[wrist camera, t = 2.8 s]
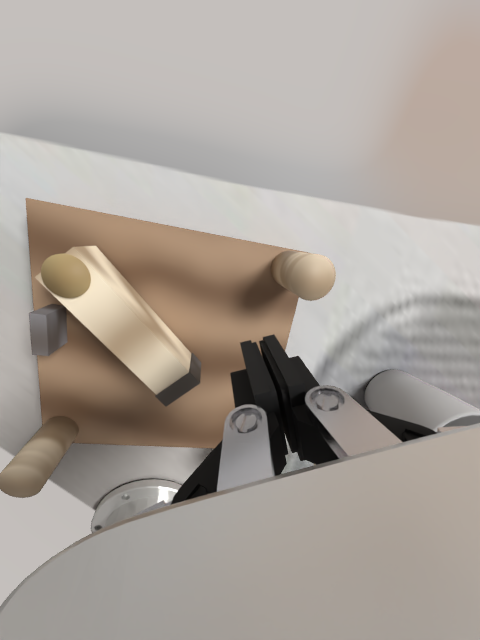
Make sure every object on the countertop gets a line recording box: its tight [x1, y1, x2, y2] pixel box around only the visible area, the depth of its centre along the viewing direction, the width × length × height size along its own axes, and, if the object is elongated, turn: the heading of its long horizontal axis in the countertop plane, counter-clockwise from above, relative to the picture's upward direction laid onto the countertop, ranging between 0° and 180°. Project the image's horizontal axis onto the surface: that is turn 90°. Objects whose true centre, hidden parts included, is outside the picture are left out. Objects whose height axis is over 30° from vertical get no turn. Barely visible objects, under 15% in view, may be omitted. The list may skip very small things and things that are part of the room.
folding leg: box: [35, 246, 201, 407], centre depth 17 cm, size 12×3×3 cm, turn 35°
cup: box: [364, 369, 480, 432], centre depth 24 cm, size 8×10×8 cm
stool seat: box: [0, 198, 336, 498], centre depth 19 cm, size 20×20×8 cm
